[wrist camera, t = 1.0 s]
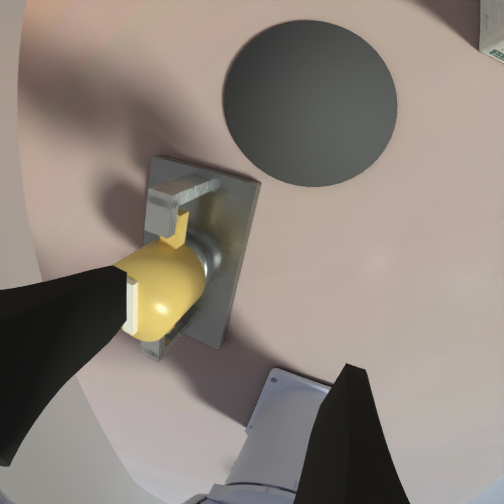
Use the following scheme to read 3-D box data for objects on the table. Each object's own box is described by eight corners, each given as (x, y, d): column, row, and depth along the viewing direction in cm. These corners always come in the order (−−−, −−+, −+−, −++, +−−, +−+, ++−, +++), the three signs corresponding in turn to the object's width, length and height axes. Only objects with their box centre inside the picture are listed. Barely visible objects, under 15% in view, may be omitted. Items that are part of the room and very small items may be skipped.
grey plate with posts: (223, 343, 23) (194, 385, 19) (145, 307, 24) (109, 339, 20) (261, 182, 17) (228, 202, 13) (159, 154, 19) (109, 166, 15)
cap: (196, 336, 20) (161, 380, 16) (141, 310, 21) (100, 345, 17) (216, 220, 16) (170, 252, 13) (147, 197, 17) (93, 220, 13)
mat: (368, 209, 16) (368, 210, 16) (212, 160, 18) (210, 160, 17) (413, 49, 12) (413, 47, 12) (246, 11, 14) (244, 10, 13)
